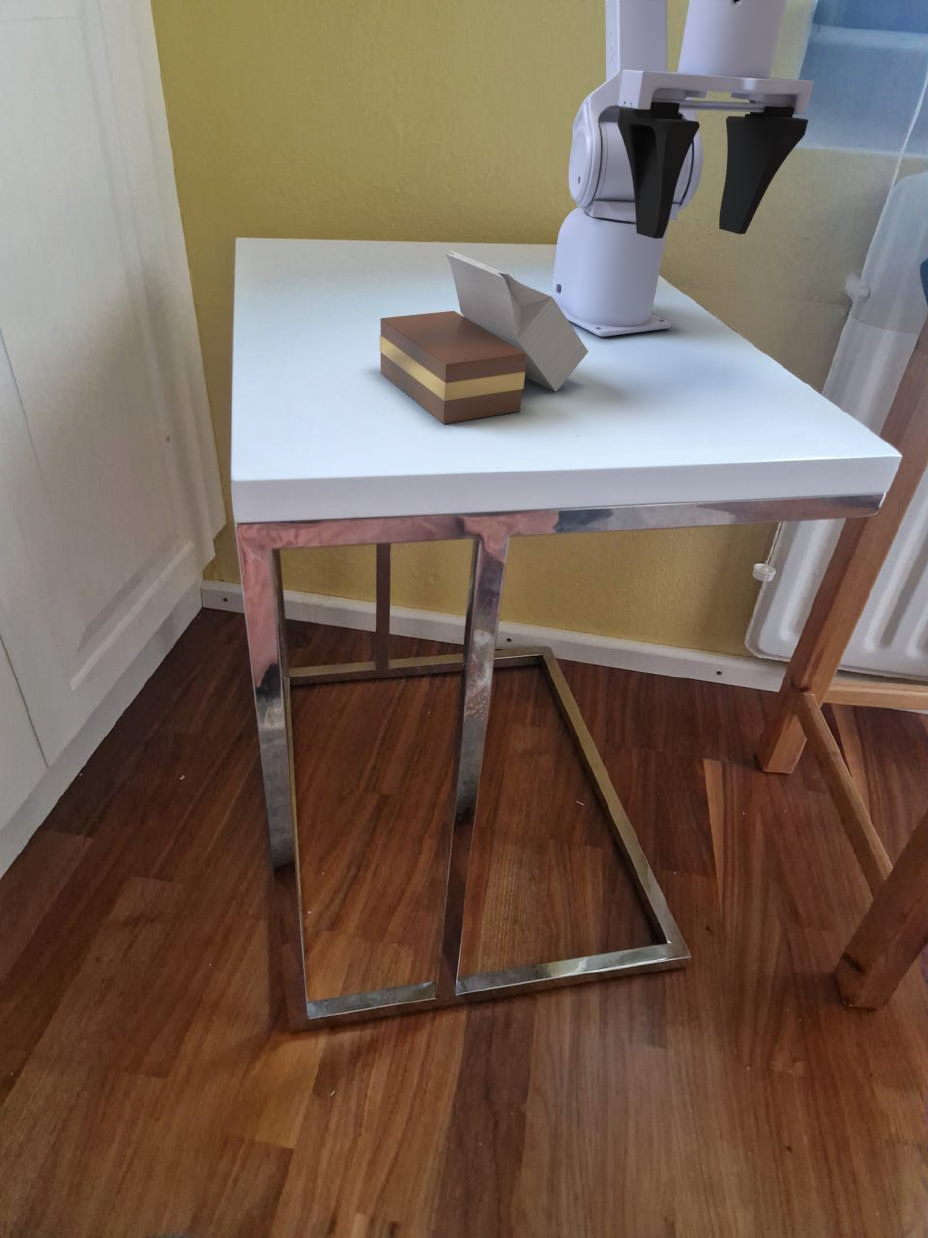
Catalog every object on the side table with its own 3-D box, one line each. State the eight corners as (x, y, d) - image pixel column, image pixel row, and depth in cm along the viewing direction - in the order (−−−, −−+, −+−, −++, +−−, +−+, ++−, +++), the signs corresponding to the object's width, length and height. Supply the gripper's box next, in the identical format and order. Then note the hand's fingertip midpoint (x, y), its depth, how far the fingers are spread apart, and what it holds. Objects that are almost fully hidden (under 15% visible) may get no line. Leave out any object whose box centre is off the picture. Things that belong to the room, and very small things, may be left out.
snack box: (379, 372, 61) (379, 317, 59) (451, 363, 64) (454, 310, 61) (443, 424, 54) (446, 364, 52) (521, 411, 57) (527, 353, 54)
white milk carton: (556, 391, 60) (487, 299, 52) (500, 362, 64) (429, 273, 57) (588, 351, 60) (524, 253, 52) (530, 324, 64) (463, 230, 57)
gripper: (694, -26, 44) (647, 250, 51) (875, -3, 50) (809, 240, 58) (613, -23, 49) (581, 228, 56) (786, -3, 55) (736, 221, 63)
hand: (691, 233), depth 57 cm, fingers open, 7 cm apart
